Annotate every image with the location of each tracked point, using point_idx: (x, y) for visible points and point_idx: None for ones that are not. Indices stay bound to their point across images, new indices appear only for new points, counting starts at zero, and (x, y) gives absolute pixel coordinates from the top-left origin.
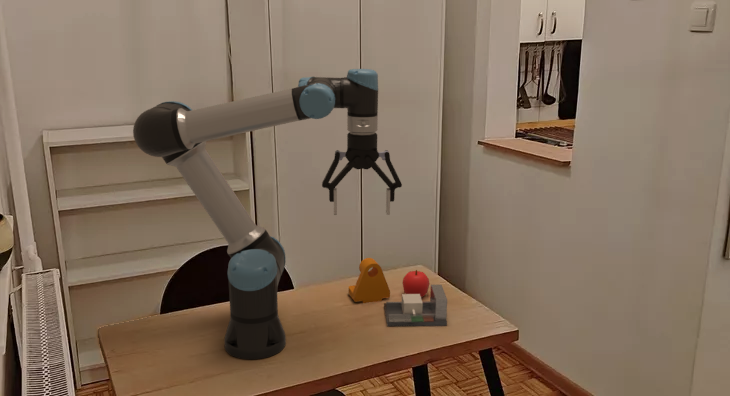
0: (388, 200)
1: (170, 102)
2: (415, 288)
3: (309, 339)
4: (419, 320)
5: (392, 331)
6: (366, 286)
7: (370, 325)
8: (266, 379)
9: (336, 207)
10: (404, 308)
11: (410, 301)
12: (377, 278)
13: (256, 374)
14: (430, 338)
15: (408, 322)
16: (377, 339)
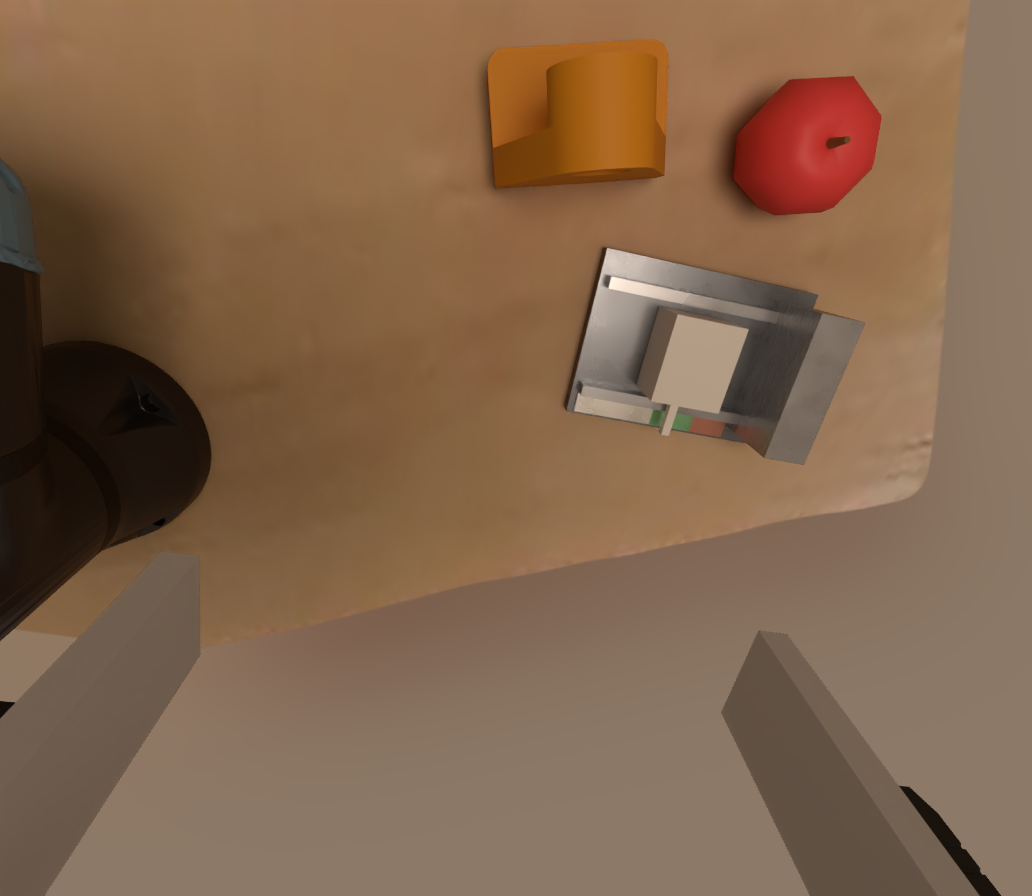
0: (815, 878)
1: None
2: (773, 213)
3: (291, 438)
4: (674, 427)
5: (570, 440)
6: (555, 180)
7: (510, 385)
8: None
9: (146, 731)
10: (646, 394)
11: (681, 390)
12: (618, 174)
13: None
14: (665, 502)
15: (636, 422)
16: (508, 478)
